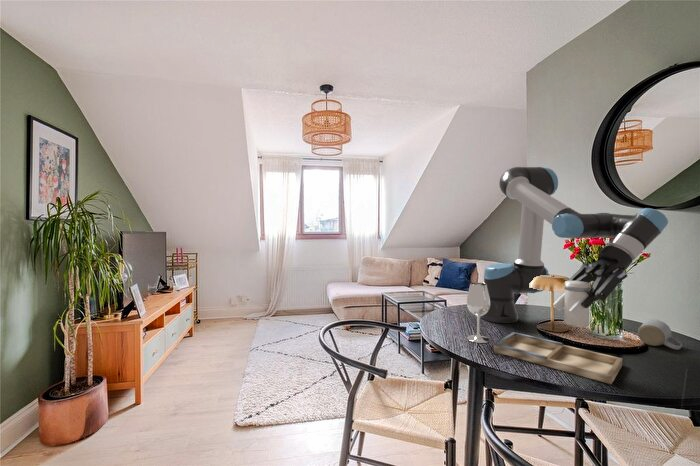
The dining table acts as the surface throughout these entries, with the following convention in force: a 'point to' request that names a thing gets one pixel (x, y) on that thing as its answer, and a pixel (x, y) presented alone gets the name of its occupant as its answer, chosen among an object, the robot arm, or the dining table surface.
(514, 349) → the bay tray
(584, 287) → the domed white canister
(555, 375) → the dining table surface
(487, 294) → the wineglass
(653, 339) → the ceramic mug
